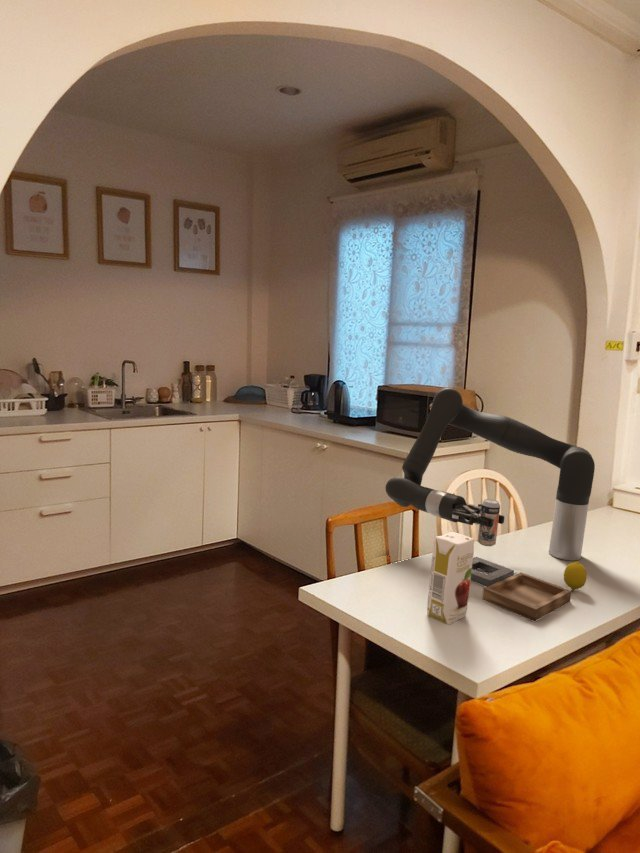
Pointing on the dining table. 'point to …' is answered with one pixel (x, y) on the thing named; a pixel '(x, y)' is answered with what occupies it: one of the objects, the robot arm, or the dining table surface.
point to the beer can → (492, 511)
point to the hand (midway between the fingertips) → (497, 521)
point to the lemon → (575, 575)
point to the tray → (527, 596)
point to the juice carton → (450, 577)
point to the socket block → (494, 569)
